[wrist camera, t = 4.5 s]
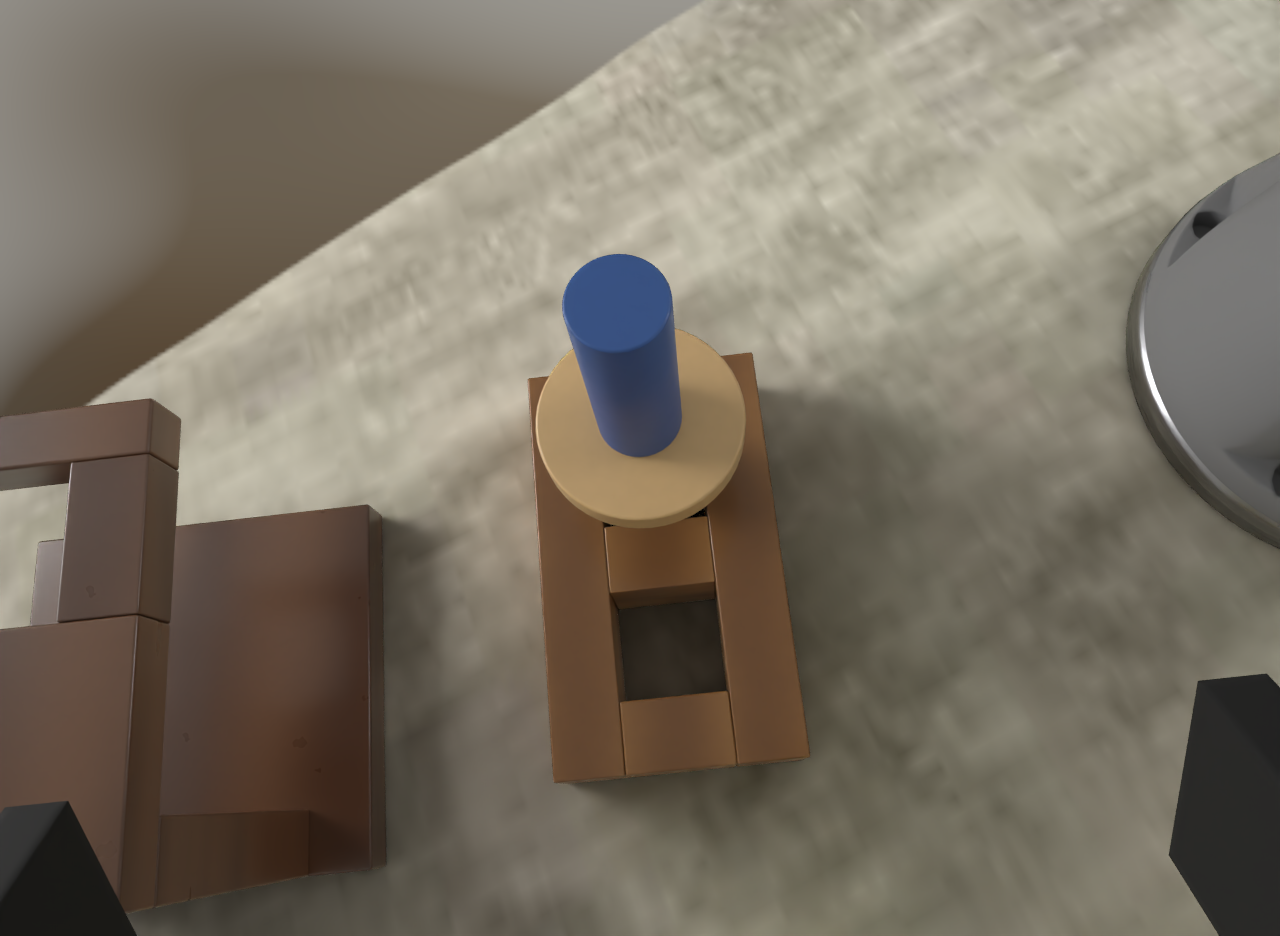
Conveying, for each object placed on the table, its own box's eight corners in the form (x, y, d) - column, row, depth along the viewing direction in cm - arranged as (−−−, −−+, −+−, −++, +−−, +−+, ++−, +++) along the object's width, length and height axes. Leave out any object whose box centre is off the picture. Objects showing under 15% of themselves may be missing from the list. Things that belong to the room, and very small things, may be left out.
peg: (728, 411, 36) (737, 166, 22) (749, 569, 35) (774, 414, 20) (566, 429, 37) (474, 199, 22) (579, 588, 35) (486, 447, 21)
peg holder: (749, 385, 37) (752, 351, 34) (802, 760, 32) (810, 757, 30) (541, 409, 37) (527, 377, 34) (567, 783, 33) (553, 782, 30)
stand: (382, 514, 36) (230, 387, 25) (386, 866, 32) (209, 906, 21) (63, 550, 37) (-230, 441, 25) (31, 901, 33) (-332, 960, 21)
